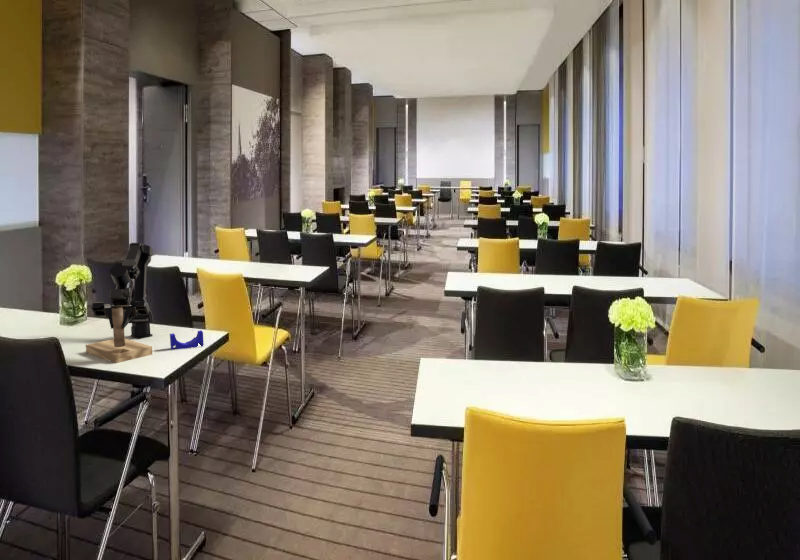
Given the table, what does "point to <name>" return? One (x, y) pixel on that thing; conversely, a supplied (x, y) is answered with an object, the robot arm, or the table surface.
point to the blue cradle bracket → (188, 344)
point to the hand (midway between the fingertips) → (117, 328)
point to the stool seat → (119, 350)
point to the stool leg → (118, 327)
